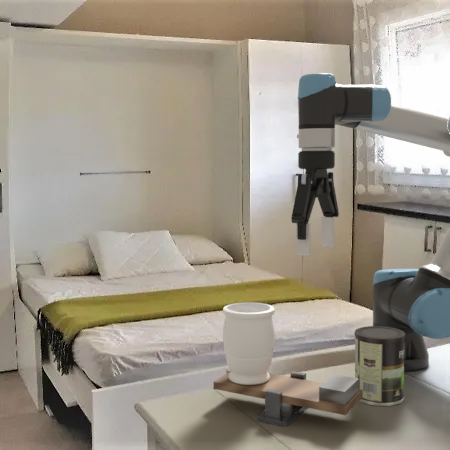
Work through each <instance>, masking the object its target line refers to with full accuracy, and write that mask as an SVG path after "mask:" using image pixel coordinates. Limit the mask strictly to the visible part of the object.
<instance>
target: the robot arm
mask: <svg viewBox="0 0 450 450" xmlns="http://www.w3.org/2000/svg"><path fill="white" fill-rule="evenodd" d="M297 99H298V101H297V102H298V104H297V105H298V106H297V108H298V109H297V110H298V134H297V135H296V138H297V139H298V148H299V149H300V150H301V151H299V152H298V155H297V157H298V158H297V160H298V164H297V165H298V166H297V167H298V168H299V169H300V170H305V172H304V173H299V174H298V176H297V188H296V191H295V198H294V202H293V208H292V213H291V217H290V218H291V219H290V220H291V223H292V224H296V256H304V257H305V256H306V257H310V256H311V236H312V235H311V223H309V222H310V219H311V215H312V212H313V211H312V210H313V208H314V205H315V202H316V199H317V200H318V203H319V207H320V209H321V212H322V215H323V216H322V217H321V219H320V220H321V221H320V222H321V225H320V226H321V227H320V230H321V235H320V236H321V239H320V241H321V242H320V243H321V246H320V247H324V248H334V247H335V218H339V216H340V214H339V213H340V212H339V206H338V201H337V200H338V199H337V194H336V188H335V183H334V172H333V171H330V172H329V171H328V170H329V169H330V170H331V169H334V168H335V165H336V164H335V160H336V159H335V158H336V157H335V155H336V154H335V151H334V150H333V149H334V148H335V147H336V125H337V126H341V127H345V128H349V129H355V130H359V131H362V132H366V133H371V134H375V135H378V136H383V137H386V138H390V139H395V140H398V141H403V142H407V143H410V144H415V145H418V146H422V147H427V148H431V149H434V150H439V151H442V152H443V154H444V155H445V156H446V157H449V158H450V134H449V131H448V129H447V121H448V119H449V118H446V117H442V116H439V115H434V114H430V113H427V112H423V111H419V110H415V109H411V108H407V107H402V106H399V105H395V104H392V95H391V93H390V90H389V89H388V88H387V87H386V86H384V85H379V84H377V85H376V84H374V83H373V84H372V83H371V84H339V83H337V81H336V76H335V75H334V74H332V73H327V72H325V73H324V72H319V73H318V72H317V73H315V72H314V73H313V72H312V73H307V74H304V75H302V76H301V77H300V78H299V81H298V93H297ZM372 326H384V327H392V328H396V329H399V330H402V331H403V332H404V333H405V342H404V372H409V371H410V372H411V371H419V370H422V369H425V368H427V367H428V366H429V357H430V355H429V352H428V351H429V350H428V349H427V345H426V342H425V339H424V337H427V338H428V339H433V340H443V339H446V338H450V227H449V228H448V229H447V232H446V233H445V235H444V237H443V239H442V241H441V243H440V245H439V246H438V248H437V250H436V252H435V253H434V255H433V257H432V259H431V260H430V263H427V264H424V265H421V266H420V267H419V268H390V269H389V268H388V269H386V268H385V269H379V270H377V271H375V273H374V274H373V281H372Z"/></svg>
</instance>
